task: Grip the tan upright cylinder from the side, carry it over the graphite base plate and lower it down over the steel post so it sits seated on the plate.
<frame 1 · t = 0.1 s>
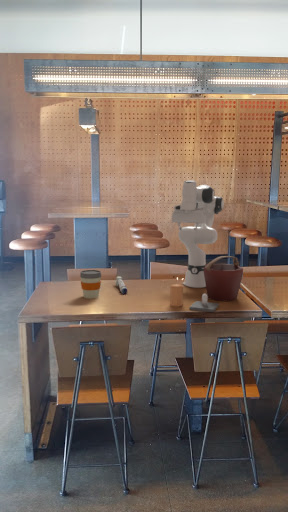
hand: (187, 230, 271), 39 cm above the table, tool pointing down, fingers open, 8 cm apart
tan upright cylinder: (176, 304, 252), on the table
toothbrush head: (121, 289, 289), on the table
bucket: (223, 298, 268), on the table
post base: (204, 307, 247), on the table
reusable coffee cup: (91, 296, 270), on the table
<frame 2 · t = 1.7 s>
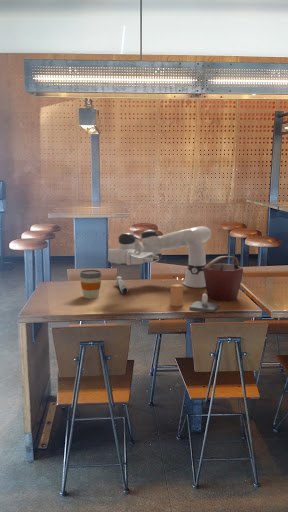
hand: (155, 258, 253), 25 cm above the table, tool horizontal, fingers open, 8 cm apart
nothing on the table moved.
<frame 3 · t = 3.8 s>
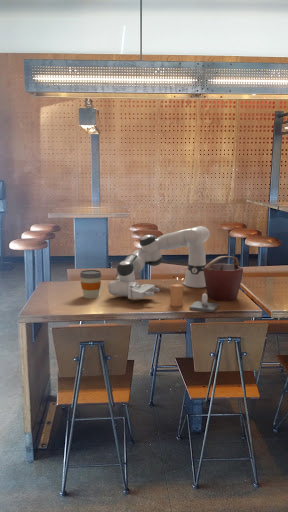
hand: (156, 292, 256), 6 cm above the table, tool horizontal, fingers open, 8 cm apart
nothing on the table moved.
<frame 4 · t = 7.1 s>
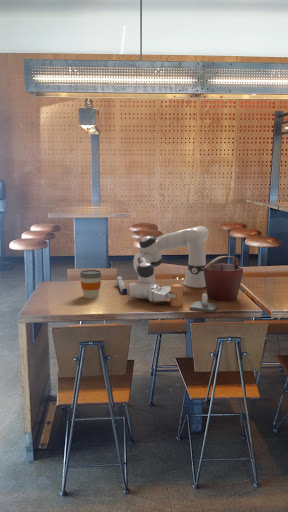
hand: (178, 294, 251), 6 cm above the table, tool horizontal, fingers closed on tan upright cylinder, 6 cm apart
tan upright cylinder: (176, 304, 252), on the table, touching gripper
everything else where it was.
when the fingers open (9 cm above the table, at t = 13.2 s): tan upright cylinder drops 1 cm, resting on post base.
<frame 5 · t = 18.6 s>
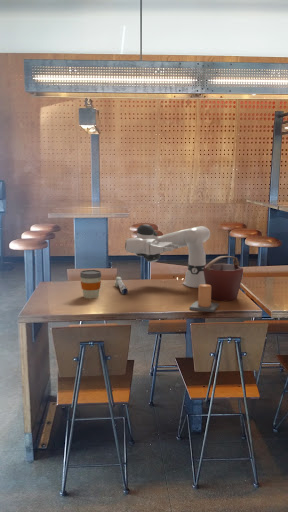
hand: (175, 248, 248), 32 cm above the table, tool horizontal, fingers open, 8 cm apart
tan upright cylinder: (204, 305, 246), point 1 cm above the table, touching post base
at the end: tan upright cylinder 0.1 cm off-centre on the post base, point 1.5 cm above the post base's base; tan upright cylinder tilted 0°; the gripper is holding nothing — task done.
